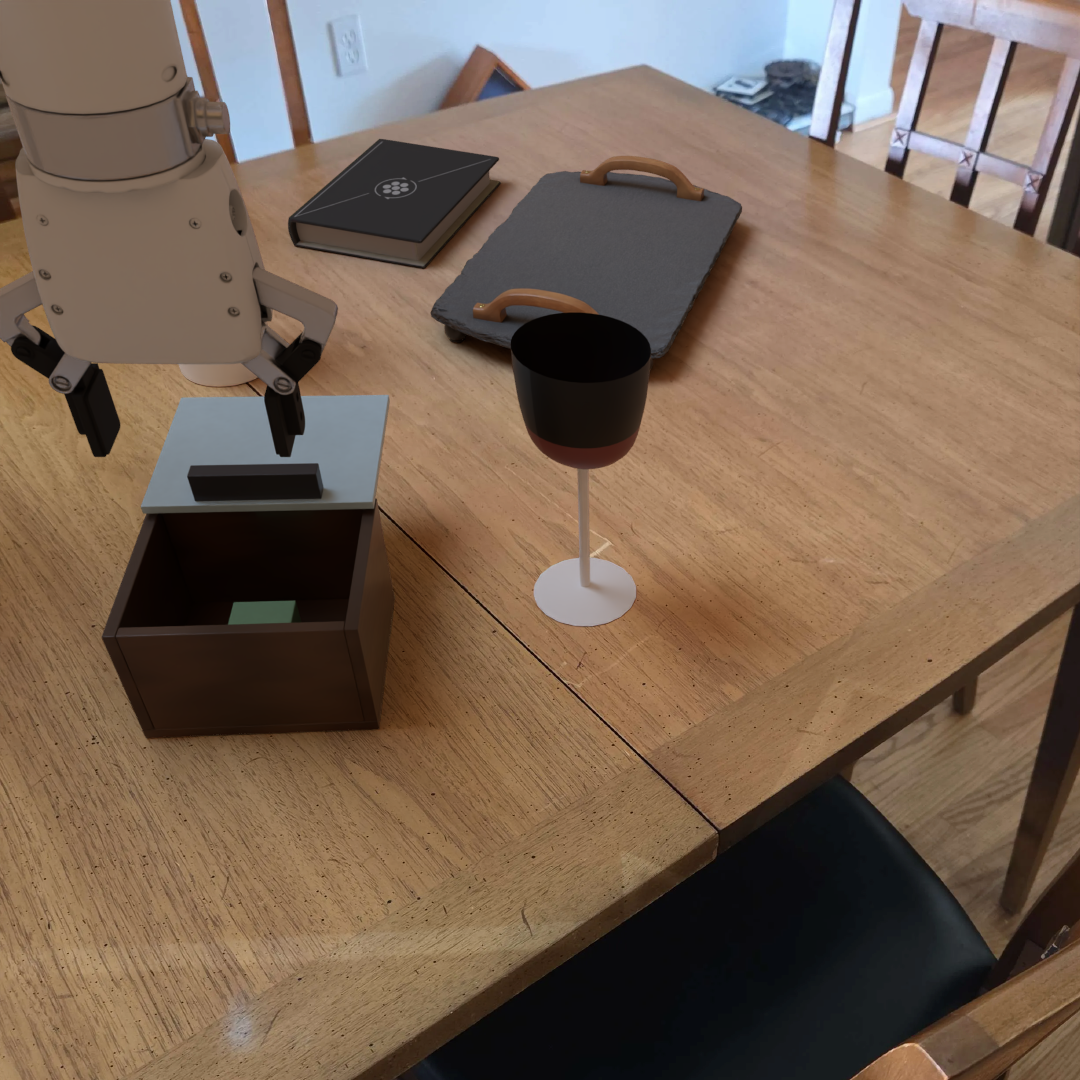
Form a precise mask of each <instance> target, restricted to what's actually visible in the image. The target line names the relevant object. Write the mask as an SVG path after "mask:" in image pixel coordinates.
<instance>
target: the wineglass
mask: <svg viewBox="0 0 1080 1080" xmlns="http://www.w3.org/2000/svg"><path fill="white" fill-rule="evenodd" d="M510 354H511V355H510V356H511V363H512V364H511V365H512V373H513V378H514V386H515V391H516V395H517V400H518V404H519V409H520V413H521V417H522V419H523V423H524V426H525V428H526V431H527V434H528V436H529V438H530V439H531V442H532V443H533V445H534V446H535V447H536V448H537V449H538V450H539V451H540V452H541V453H542V454H543V455H545V456H546V457H548V458H549V459H551V460H552V461H554V462H556V463H558V464H561V465H563V466H566V467H569V468H572V469H576V471H577V510H578V511H577V512H578V513H577V517H578V557H573V558H569V559H564V560H561V561H559V562H557V563H554V564H552V565H550V566H549V567H547V568H546V569H545V570H544V571H542V572H541V573H540V575H539V576H538V578H537V579H536V581H535V583H534V587H533V598H534V600H535V603H536V605H537V607H538V608H539V609H540V611H542V612H543V614H544V615H546V616H547V617H549V618H551V619H553V620H555V621H556V622H558V623H562V624H565V625H570V626H573V627H595V626H600V625H604V624H608V623H610V622H613V621H615V620H617V619H620V618H621V617H622V616H624V615H625V614H626V613H627V612H628V611H629V610H631V608H632V606H633V604H634V602H635V600H636V599H637V585H636V583H635V580H634V579H633V577H632V575H631V574H630V573H629V572H628V571H627V570H626V569H625V568H623V567H622V566H620V565H618V564H616V563H614V562H612V561H610V560H606V559H602V558H597V557H591V539H590V536H591V535H590V532H591V531H590V470H595V469H596V470H597V469H600V468H605V467H608V466H611V465H613V464H616V463H617V462H619V461H621V459H623V458H625V457H626V455H627V454H628V453H629V452H630V451H631V449H632V448H633V446H634V445H635V442H636V440H637V437H638V435H639V431H640V428H641V423H642V420H643V416H644V412H645V407H646V403H647V398H648V388H649V383H650V372H651V370H650V361H651V347H650V343H649V342H648V340H647V338H646V337H645V336H644V335H643V334H642V333H641V332H640V331H639V330H637V329H636V328H634V327H633V326H631V325H629V324H627V323H625V322H623V321H621V320H618V319H615V318H612V317H608V316H604V315H598V314H592V313H581V312H569V313H557V314H551V315H546V316H542V317H539V318H536V319H533V320H531V321H529V322H527V323H525V324H524V325H522V326H521V327H520V328H519V329H518V330H517V331H516V332H515V333H514V335H513V336H512V339H511V349H510Z"/></svg>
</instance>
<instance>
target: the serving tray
mask: <svg viewBox="0 0 1080 1080" xmlns="http://www.w3.org/2000/svg"><path fill="white" fill-rule="evenodd" d="M614 171H635V172H641V173H648V174H653V175H656V176H651V175H646V174H634V173H622V172H621V173H619V172H614ZM742 212H743V206H742V204H741V203H740V202H739V201H737V200H735V199H734V198H732V197H730V196H728V195H723V194H721V193H719V192H716V191H711V190H710V189H706V188H703V187H700V186H697V185H694V184H693V183H692V182H691V181H690V180H689V179H688V177H687V176H686V175H685V173H684V172H682V171H681V170H680V169H679V168H678V167H676V166H675V165H673V164H670V163H668V162H666V161H662V160H659V159H655V158H651V157H644V156H637V155H615V156H611V157H608V158H607V159H605V160H604V161H602V162H601V163H600V164H599V165H598V166H597V167H595V168H594V169H593V170H587V169H582V171H567V170H562V171H555V172H549V173H546V174H544V175H542V176H541V177H539V180H538V181H537V183H535V184H534V185H533V186H532V187H531V189H530V190H529V191H528V192H527V194H526V195H525V196H524V197H523V198H522V199H521V200H520V201H519V202H518V203H517V204H516V206H514V208H513V209H512V211H511V213H510V215H509V216H508V218H507V219H506V220H505V221H504V222H502V223H501V224H499V226H497V227H496V228H495V229H494V231H493V232H492V233H490V235H489V236H488V238H487V240H486V241H485V242H484V243H483V244H482V246H481V248H480V249H478V251H477V252H476V253H475V254H473V256H472V258H470V259H467V261H466V262H465V265H464V266H463V269H462V270H461V271H460V274H458V275H457V276H455V278H454V280H453V282H452V283H451V284H449V285H448V286H447V287H446V288H445V290H444V291H443V293H442V294H441V295H440V296H439V297H438V298H437V299H436V300H435V302H434V304H433V306H432V308H431V310H430V317H431V318H433V319H434V321H436V322H438V323H441V324H442V325H444V326H443V328H444V329H443V330H444V333H445V336H446V337H447V338H448V340H449V341H450V342H452V343H455V344H456V343H461V342H464V340H465V338H466V336H470V337H473V338H475V339H477V340H479V341H483V342H485V343H490V344H494V345H497V346H500V347H502V348H505V349H509V350H511V339H512V336H513V335H514V333H515V332H516V331H517V330H518V329H519V328H520V327H521V326H522V325H524V324H525V323H527V322H529V321H531V320H533V319H536V318H539V317H542V316H546V315H551V314H557V313H569V312H581V313H592V314H598V315H604V316H608V317H612V318H615V319H618V320H621V321H623V322H625V323H627V324H629V325H631V326H633V327H634V328H636V329H637V330H639V331H640V332H641V333H642V334H643V335H644V336H645V337H646V338H647V340H648V342H649V343H650V347H651V361H650V371H651V370H652V369H653V366H654V359H659V358H663V357H665V355H666V354H667V353H668V351H669V350H670V349H671V347H672V346H673V343H674V341H675V339H676V337H677V336H678V334H679V332H680V331H681V329H682V328H683V325H684V323H685V320H686V318H687V316H688V314H689V312H691V310H692V309H693V306H694V303H695V300H696V299H697V298H698V296H699V294H700V292H701V291H702V290H703V287H704V284H705V282H706V280H707V279H708V277H710V275H711V271H712V269H713V268H714V267H715V264H716V262H717V260H718V259H719V258H720V255H721V253H722V251H723V249H724V247H725V246H726V242H727V241H728V239H729V237H730V235H731V234H732V232H733V229H734V228H735V226H736V224H737V222H738V220H739V218H740V216H741V215H742Z"/></svg>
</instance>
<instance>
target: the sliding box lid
mask: <svg viewBox="0 0 1080 1080" xmlns="http://www.w3.org/2000/svg"><path fill="white" fill-rule="evenodd" d="M301 399H302V404H303V409H304V415H305V430H304V434H303V435H296V436H295V440H294V445H293V449H292V453H291V457H280V455H277V454H276V452H275V447H274V443H273V438H272V434H271V429H270V425H269V420H268V416H267V411H266V407H265V402H264V396H262V395H261V396H260V395H259V396H257V395H256V396H192V397H190V396H186V397H185V396H184V397H180V399H179V402H178V405H177V408H176V410H175V413H174V416H173V418H172V421H171V424H170V427H169V429H168V432H167V435H166V436H165V437H166V438H165V440H164V443H163V445H162V448H161V451H160V453H159V456H158V457H157V458H158V459H157V462H156V464H155V467H154V469H153V472H152V474H151V477H150V481H149V483H148V486H147V488H146V490H145V494H144V496H143V499H142V501H141V504H140V509H141V512H142V514H145V515H146V514H149V513H196V512H244V511H291V510H338V509H374V505H375V498H376V499H377V492H378V486H379V485H378V484H379V477H380V470H381V464H382V459H383V458H382V457H383V451H384V444H385V438H386V437H385V435H386V431H387V422H388V418H389V417H388V416H389V411H390V410H389V409H390V404H391V403H390V402H391V400H390V395H389V394H351V395H348V394H346V395H345V394H343V395H342V394H340V395H339V394H338V395H301Z"/></svg>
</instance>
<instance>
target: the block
mask: <svg viewBox="0 0 1080 1080" xmlns="http://www.w3.org/2000/svg"><path fill="white" fill-rule="evenodd" d="M298 622H301V619H300V615H299V611H298V607H297V604H296V601H262V602H234V603H233V607H232V611H231V615H230V619H229V622H228V625H230V624H264V623H298Z"/></svg>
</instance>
